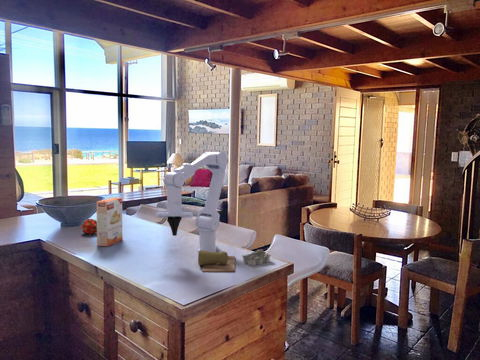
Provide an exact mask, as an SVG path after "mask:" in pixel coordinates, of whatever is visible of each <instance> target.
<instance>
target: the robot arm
mask: <svg viewBox="0 0 480 360" xmlns="http://www.w3.org/2000/svg"><path fill="white" fill-rule="evenodd" d="M228 161H229V159H228V157H227V154H226V153H225V152H223V151H205V152H204V153H202V154H201V155H200V156H199V157H198V158H197V159H195V160H194V161H193V162H192V163H188V162H185V163H182V165H181V166H179V167H178V168H175V169H174V170H173V171H169V172H167V173H166V174H165V176H164V178H163V183H164V185H165V189H166V205H167V206H166V211H160V212H159V211H158V212H156V213H155V217H156V219H159V218H166V220H167V221H166V222H167V223H168V224H169V227H170V229H171V234H172V236H173V237H174V236H175V237H176V236H178V235H177V234H178V231H179V230H178V229H179V225H180V223H181V220H182V219H183V218H184V219H186V218H188V219H192V218H193V217H194V213H193V212H191V211H190V212H189V211H183V210H182V208H183V207H182V206H183V205H182V203H183V202H182V200H183V199H182V187H183V186H184V184H185V182H186V181H187V180H188V179H190V178H192V177H193V176H194V175H195V173H196V171H197V170H199V169H202V168H203V167H206V168H207V169H208V171H210V172H211V174H212V175H211V180H210V184H209V187H208V192H207V196H206V200H205V205H204V207H203V208H202V209H200V210H199V211H198V214H197V216H196V218H195V222H194V223H195V226H196V227H197V230H199V233H198V234H199V235H198V236H199V241H198V242H199V243H198V244H199V247H198V249H197V253H199V250H204V251H211V252H217V248H218V245H216V244H217V243H216V234H217V233H216V231H217V230H218V229H219V227H220V216H221V214H220V213H219V211H217V208H218V204H219V200H220V196H221V192H222V187H223V184H224V181H225V176H226V170H227V166H228Z"/></svg>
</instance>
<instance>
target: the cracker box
mask: <svg viewBox="0 0 480 360" xmlns="http://www.w3.org/2000/svg"><path fill="white" fill-rule="evenodd" d="M95 204H96V221H97V233H96V247H97V246H98V247H110V246H113V245H114V244H117V243H118V242H121V241H123V198H122V197H109V198H105V199H102V200H98V201H96V202H95Z"/></svg>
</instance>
